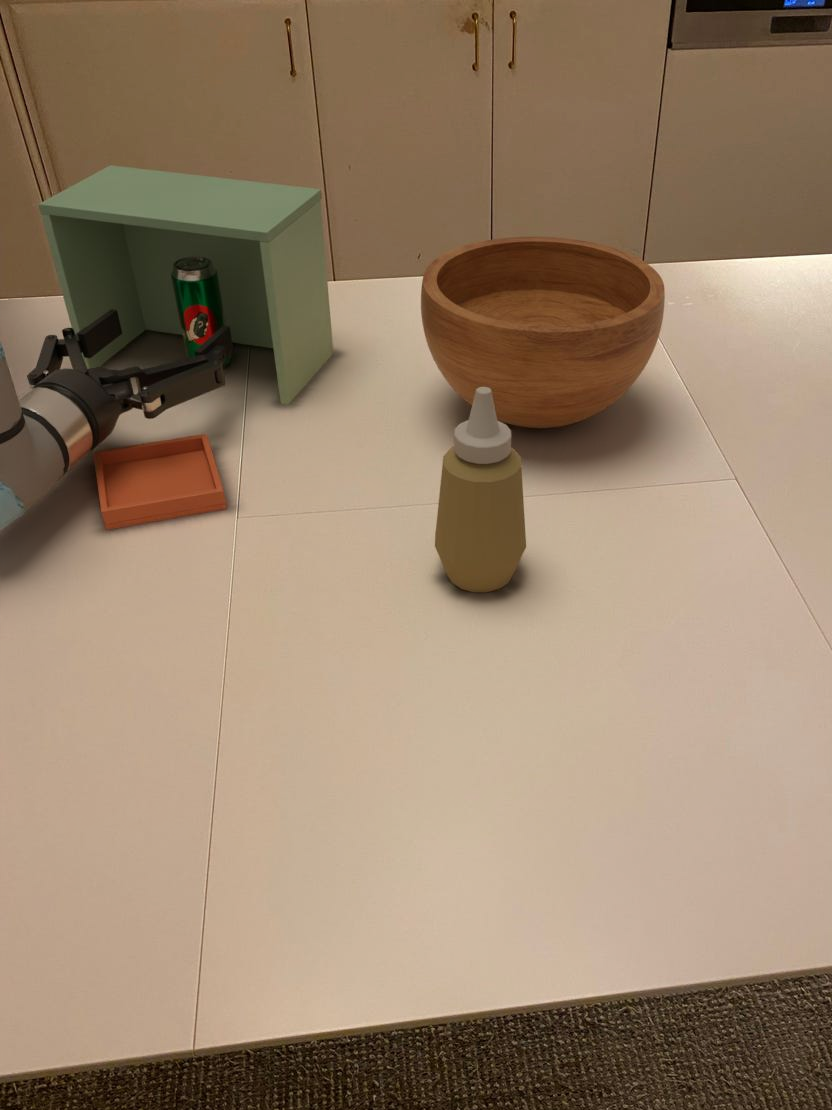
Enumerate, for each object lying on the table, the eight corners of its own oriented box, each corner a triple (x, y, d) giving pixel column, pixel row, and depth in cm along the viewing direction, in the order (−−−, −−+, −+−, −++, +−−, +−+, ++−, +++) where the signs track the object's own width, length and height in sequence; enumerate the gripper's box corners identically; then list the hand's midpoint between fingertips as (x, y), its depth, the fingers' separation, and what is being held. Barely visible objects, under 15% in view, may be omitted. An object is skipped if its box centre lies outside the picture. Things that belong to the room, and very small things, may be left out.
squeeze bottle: (541, 567, 89) (555, 384, 77) (493, 614, 84) (499, 427, 72) (467, 537, 92) (469, 357, 80) (416, 581, 87) (410, 396, 75)
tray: (98, 469, 100) (93, 451, 99) (209, 451, 103) (206, 433, 102) (106, 530, 92) (101, 511, 91) (226, 508, 95) (223, 490, 94)
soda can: (240, 364, 118) (224, 264, 110) (203, 377, 115) (184, 276, 107) (216, 350, 120) (199, 251, 112) (180, 363, 118) (160, 262, 110)
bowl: (566, 501, 97) (579, 358, 87) (376, 421, 108) (368, 286, 98) (688, 405, 112) (710, 273, 102) (510, 343, 123) (515, 219, 113)
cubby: (288, 405, 111) (267, 232, 98) (83, 372, 115) (37, 204, 103) (335, 351, 121) (321, 188, 108) (144, 323, 126) (110, 165, 113)
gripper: (-41, 436, 98) (80, 346, 113) (186, 477, 93) (280, 377, 108) (-68, 366, 93) (63, 281, 108) (171, 405, 88) (272, 311, 103)
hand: (172, 329), depth 108 cm, fingers open, 13 cm apart
